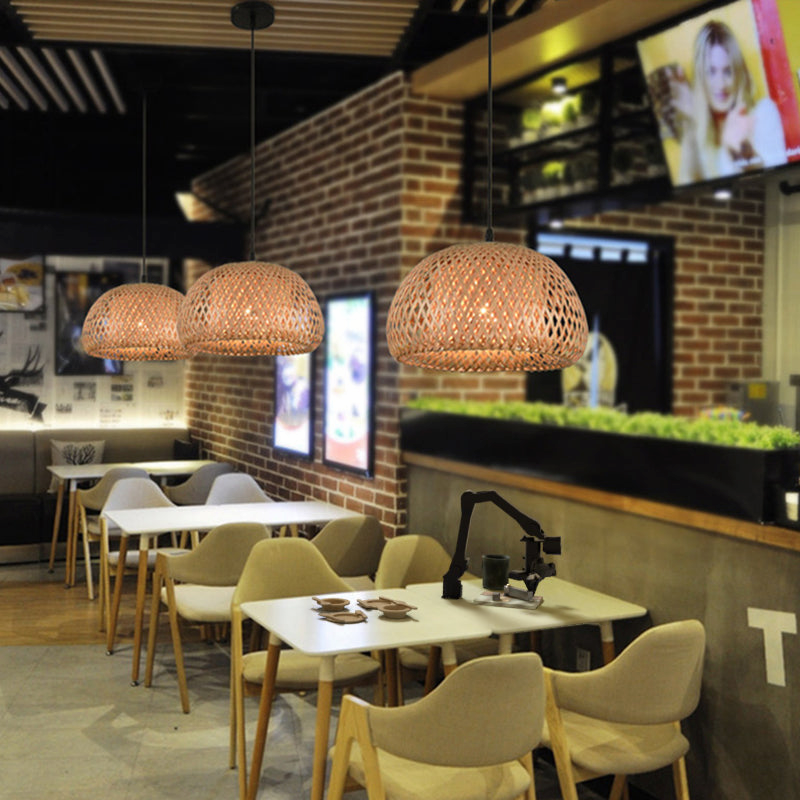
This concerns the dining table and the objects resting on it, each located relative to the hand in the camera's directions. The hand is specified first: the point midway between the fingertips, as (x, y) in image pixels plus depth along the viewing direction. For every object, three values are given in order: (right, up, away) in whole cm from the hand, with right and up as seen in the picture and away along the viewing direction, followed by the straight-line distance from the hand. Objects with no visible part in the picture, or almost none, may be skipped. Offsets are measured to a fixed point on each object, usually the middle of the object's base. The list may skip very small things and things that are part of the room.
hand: (532, 596), depth 372 cm
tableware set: (-60, -2, -22) cm, 64 cm away
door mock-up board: (-8, -2, +2) cm, 8 cm away
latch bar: (-5, 0, +2) cm, 5 cm away
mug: (-12, -2, +28) cm, 30 cm away
